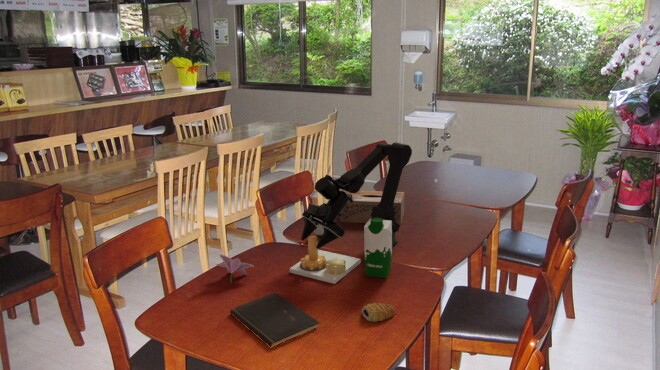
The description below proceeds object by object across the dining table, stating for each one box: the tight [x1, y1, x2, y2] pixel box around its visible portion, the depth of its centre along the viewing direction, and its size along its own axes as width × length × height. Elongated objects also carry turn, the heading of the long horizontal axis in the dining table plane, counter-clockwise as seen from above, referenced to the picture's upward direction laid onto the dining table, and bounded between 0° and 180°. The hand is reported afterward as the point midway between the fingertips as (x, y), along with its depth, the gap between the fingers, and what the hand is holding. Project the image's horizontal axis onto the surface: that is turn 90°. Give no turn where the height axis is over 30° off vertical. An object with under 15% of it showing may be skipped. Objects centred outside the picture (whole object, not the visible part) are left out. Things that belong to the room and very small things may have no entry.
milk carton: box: [363, 218, 393, 279], centre depth 180 cm, size 9×9×20 cm
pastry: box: [361, 302, 396, 323], centre depth 156 cm, size 9×7×4 cm
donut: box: [313, 223, 328, 237], centre depth 216 cm, size 10×4×10 cm, turn 141°
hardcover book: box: [229, 292, 320, 347], centre depth 155 cm, size 16×23×2 cm
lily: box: [215, 254, 255, 284], centre depth 181 cm, size 12×12×10 cm
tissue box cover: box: [339, 190, 405, 226], centre depth 233 cm, size 26×14×10 cm, turn 77°
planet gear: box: [300, 235, 326, 270], centre depth 185 cm, size 9×9×10 cm
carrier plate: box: [289, 249, 362, 285], centre depth 187 cm, size 18×18×4 cm
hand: (309, 244), depth 184 cm, fingers open, 9 cm apart
